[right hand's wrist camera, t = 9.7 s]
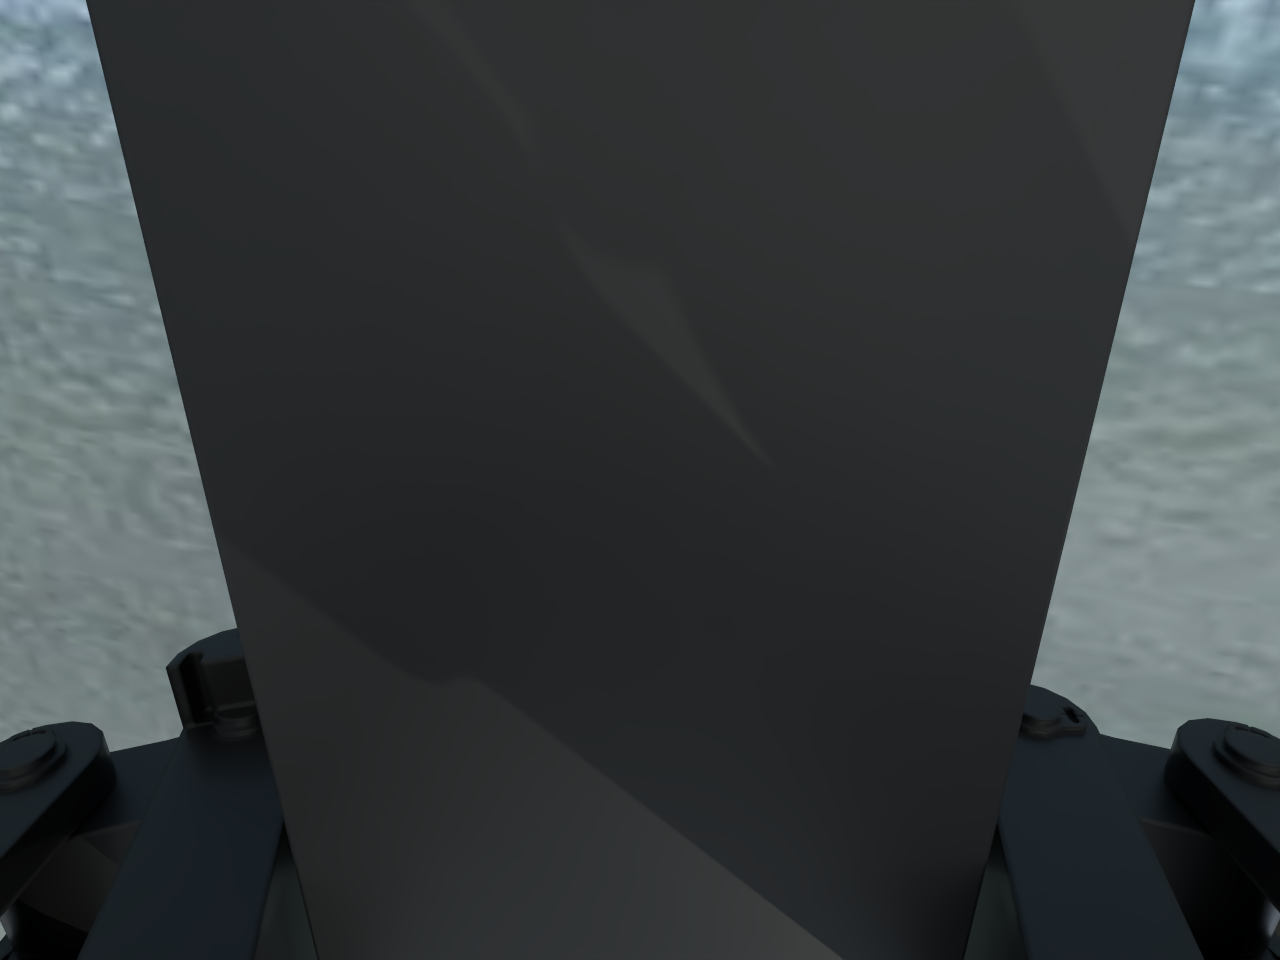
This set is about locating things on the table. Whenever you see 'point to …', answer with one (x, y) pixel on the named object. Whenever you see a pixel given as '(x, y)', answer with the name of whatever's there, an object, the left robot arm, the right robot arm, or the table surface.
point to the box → (640, 437)
